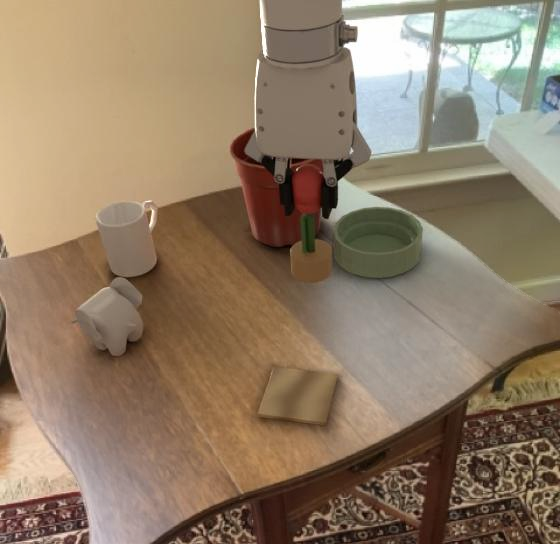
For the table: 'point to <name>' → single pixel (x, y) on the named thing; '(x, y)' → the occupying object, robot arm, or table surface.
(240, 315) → the table surface
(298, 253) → the tulip
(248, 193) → the flower pot
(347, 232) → the bowl
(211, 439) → the table surface
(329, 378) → the coaster
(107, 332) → the elephant figurine
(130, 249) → the mug
